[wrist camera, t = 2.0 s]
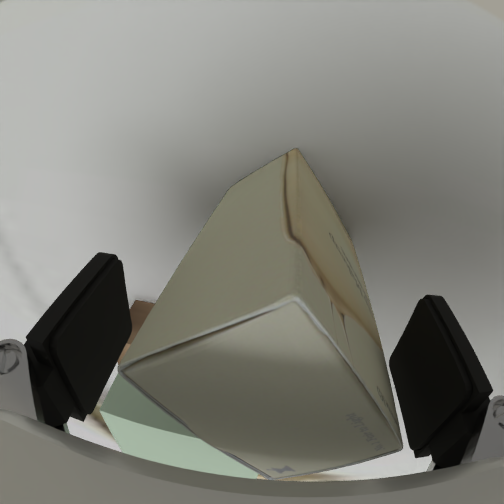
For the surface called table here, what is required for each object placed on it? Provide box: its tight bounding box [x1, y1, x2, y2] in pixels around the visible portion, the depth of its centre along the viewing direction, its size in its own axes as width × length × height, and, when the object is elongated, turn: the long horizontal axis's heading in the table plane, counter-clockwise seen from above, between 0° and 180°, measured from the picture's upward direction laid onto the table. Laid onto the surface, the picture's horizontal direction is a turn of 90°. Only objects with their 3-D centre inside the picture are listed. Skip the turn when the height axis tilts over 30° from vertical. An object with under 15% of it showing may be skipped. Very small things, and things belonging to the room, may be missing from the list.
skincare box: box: [118, 148, 403, 480], centre depth 11 cm, size 6×4×12 cm
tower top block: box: [99, 372, 258, 479], centre depth 17 cm, size 9×9×4 cm
